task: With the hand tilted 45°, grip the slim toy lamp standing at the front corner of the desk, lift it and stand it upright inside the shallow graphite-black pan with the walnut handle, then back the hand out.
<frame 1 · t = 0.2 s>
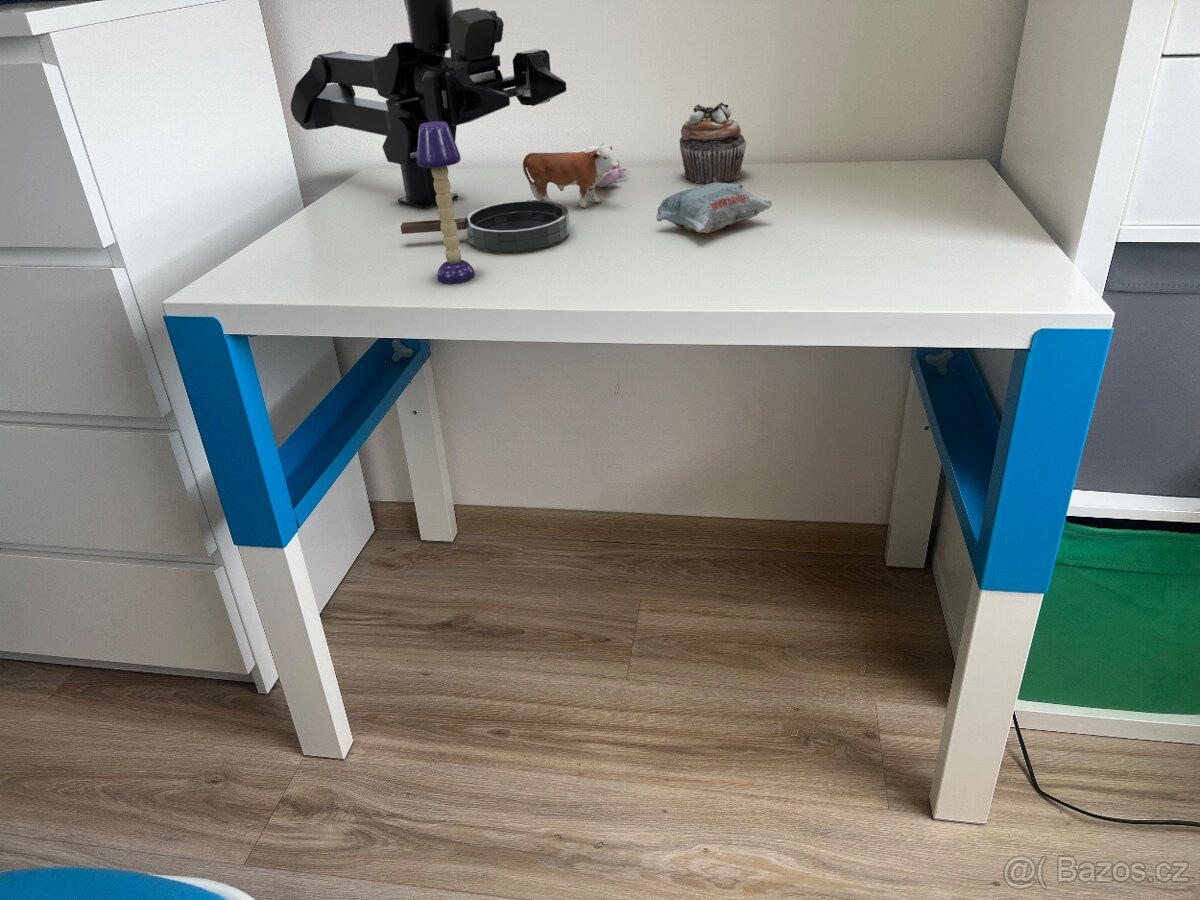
hand: (537, 93, 102), 17 cm above the table, tool horizontal, fingers open, 9 cm apart
pan: (518, 237, 110), on the table
rabbit figure: (603, 186, 128), on the table
packaged food: (713, 229, 109), on the table
pan handle: (433, 225, 109), point 2 cm above the table
cupcake: (712, 178, 129), on the table
bull figurine: (575, 206, 121), on the table
toy lamp: (457, 277, 100), on the table
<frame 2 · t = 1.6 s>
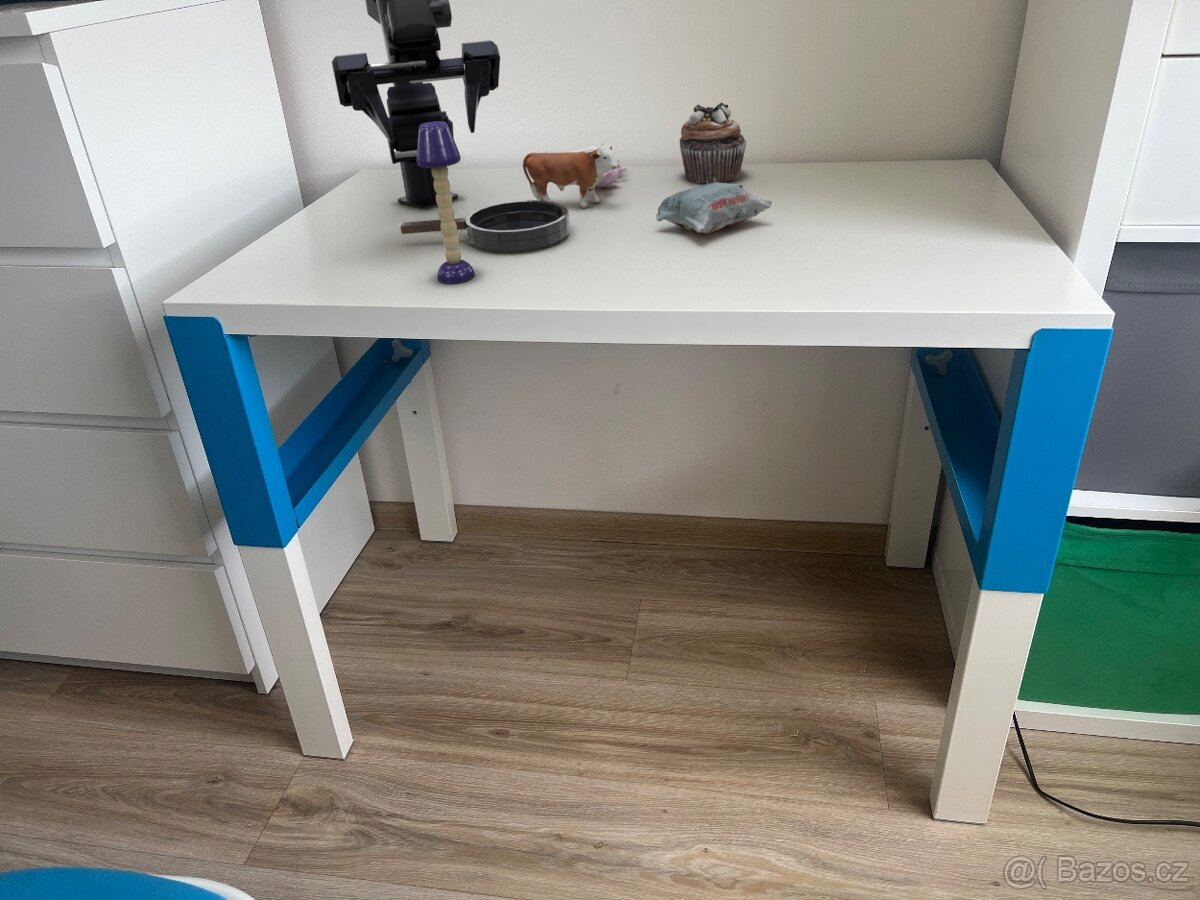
hand: (432, 135, 99), 14 cm above the table, tool tilted 45°, fingers open, 9 cm apart
nothing on the table moved.
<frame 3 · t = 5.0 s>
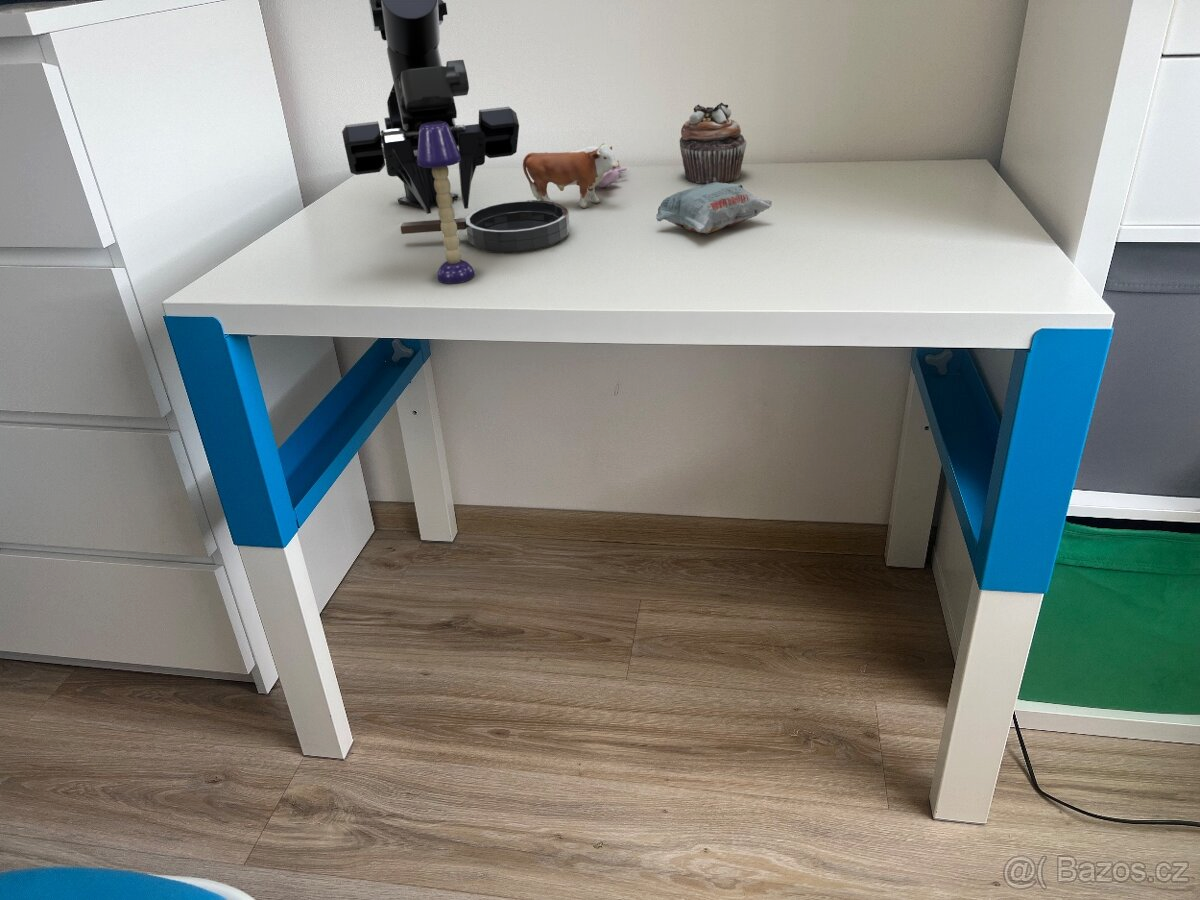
hand: (447, 209, 94), 8 cm above the table, tool tilted 45°, fingers closed on toy lamp, 4 cm apart
toy lamp: (457, 277, 100), on the table, touching gripper
everything else where it was.
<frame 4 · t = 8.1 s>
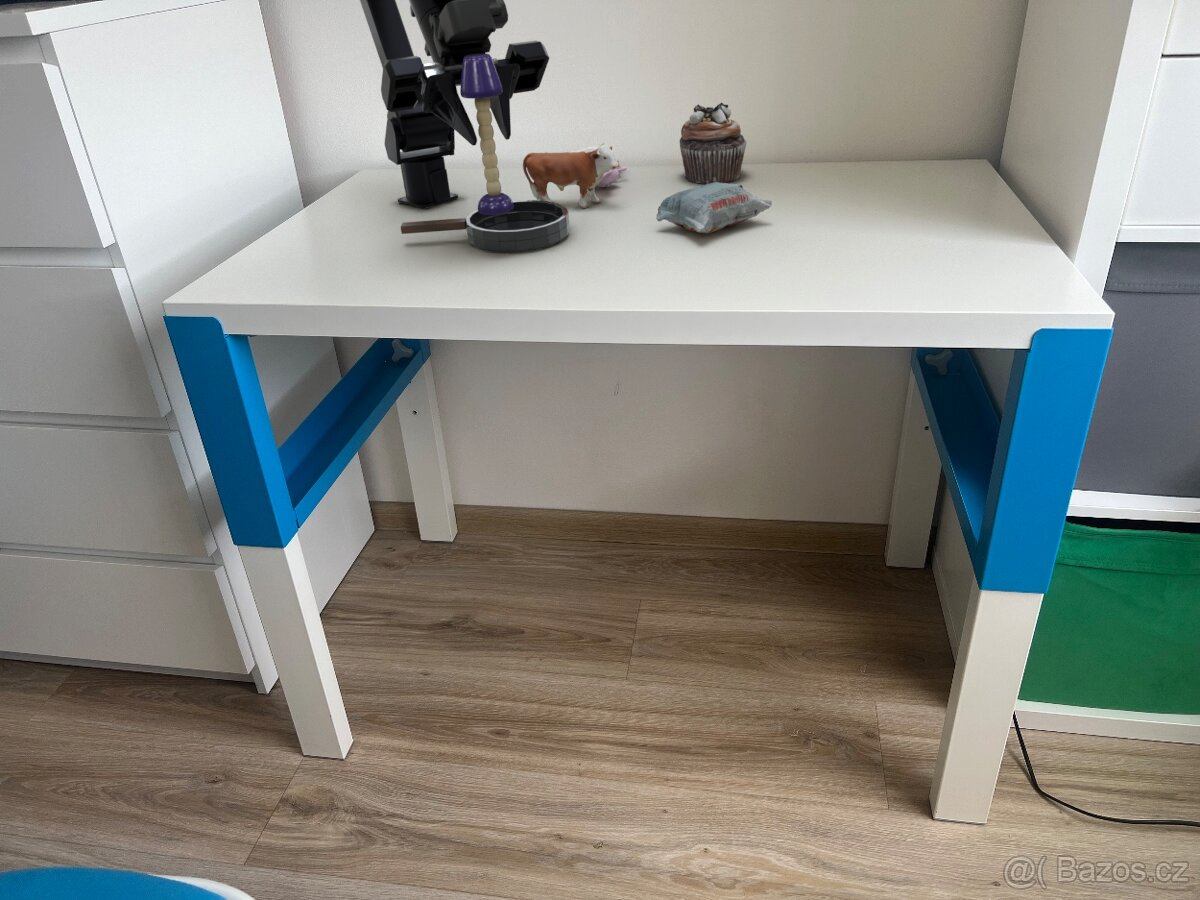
hand: (491, 140, 97), 13 cm above the table, tool tilted 45°, fingers closed on toy lamp, 4 cm apart
toy lamp: (495, 210, 103), point 5 cm above the table, touching gripper
everything else where it was.
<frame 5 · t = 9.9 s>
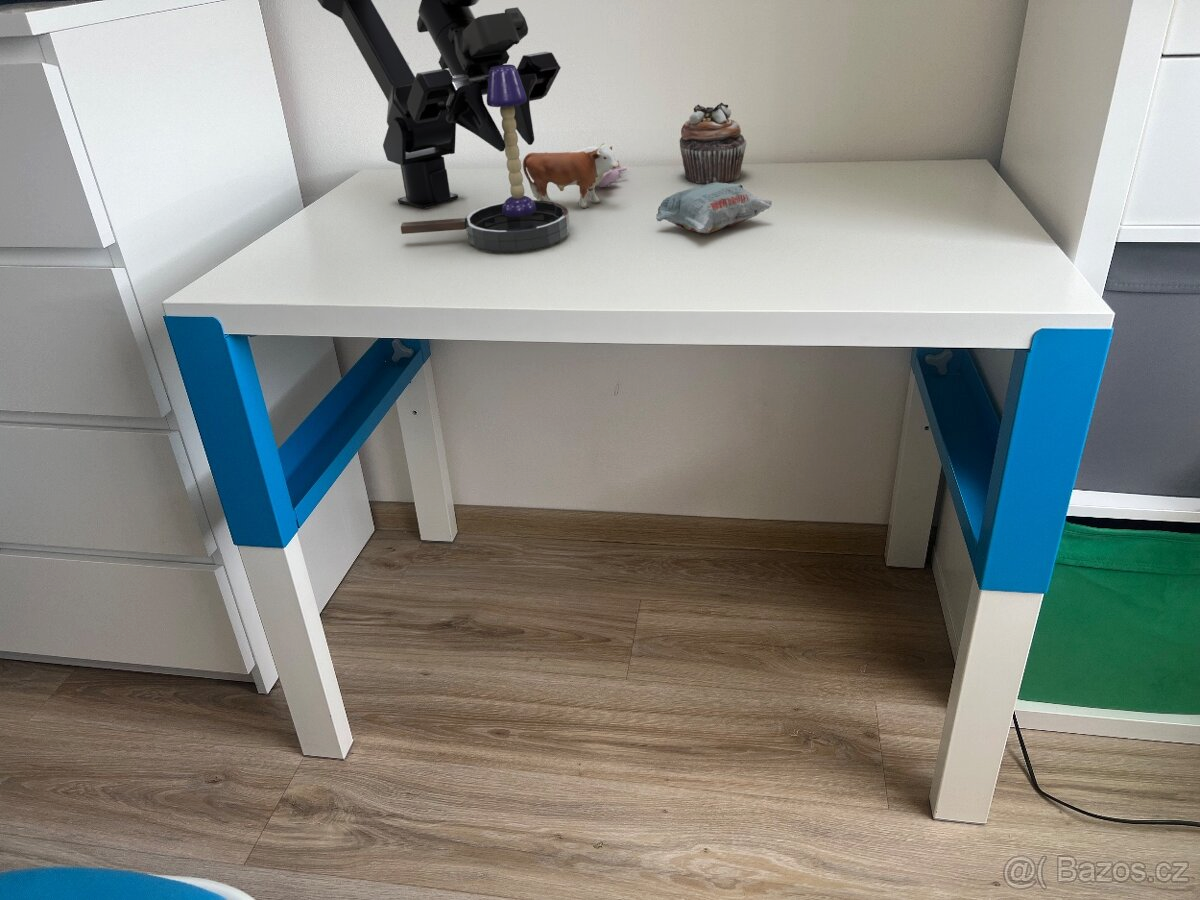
hand: (517, 146, 103), 11 cm above the table, tool tilted 45°, fingers closed on toy lamp, 4 cm apart
toy lamp: (518, 212, 108), point 3 cm above the table, touching gripper
everything else where it was.
when the fingers open (9 cm above the table, at t = 11.3 s): toy lamp stays where it is, resting on pan.
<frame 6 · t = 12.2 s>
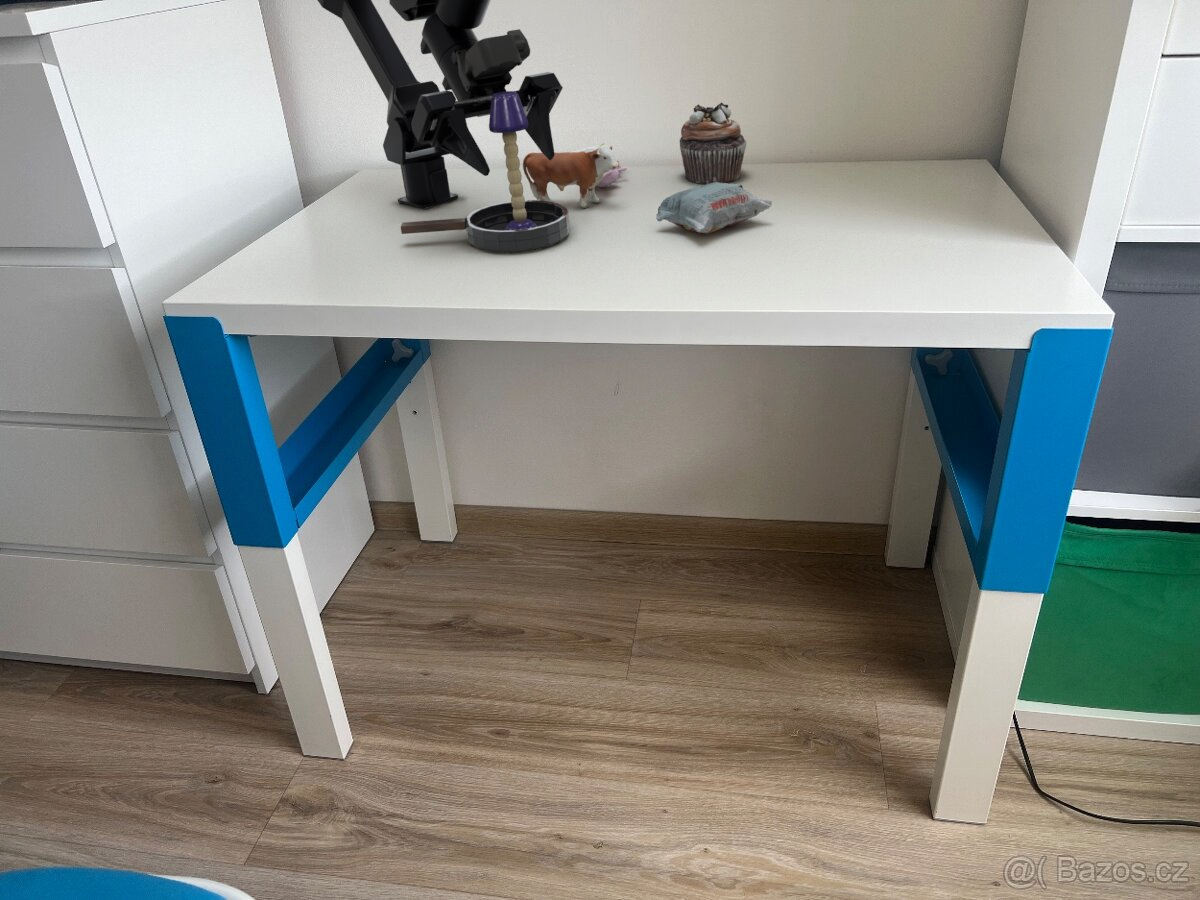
hand: (520, 165, 104), 9 cm above the table, tool tilted 45°, fingers open, 9 cm apart
toy lamp: (521, 235, 110), resting on pan
everything else where it was.
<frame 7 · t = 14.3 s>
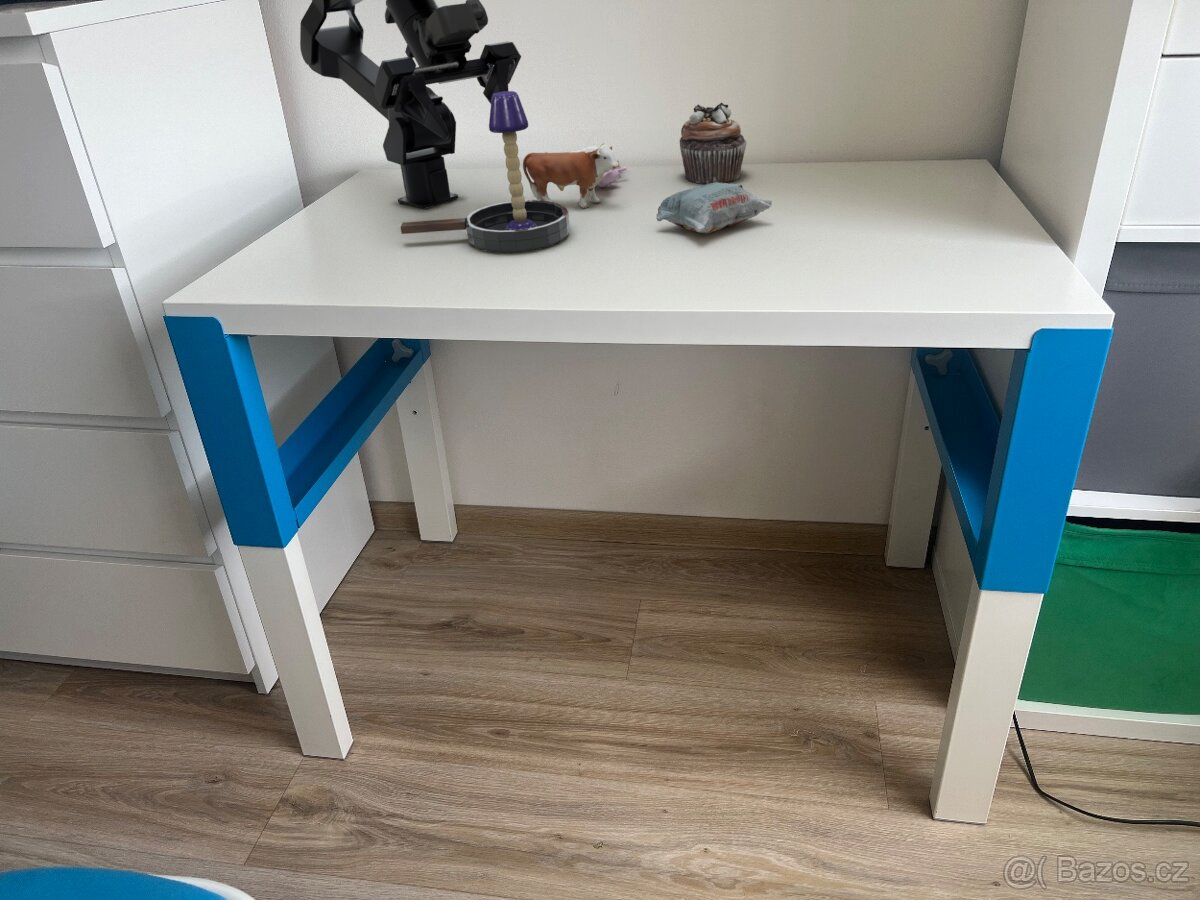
hand: (479, 130, 108), 12 cm above the table, tool tilted 45°, fingers open, 9 cm apart
nothing on the table moved.
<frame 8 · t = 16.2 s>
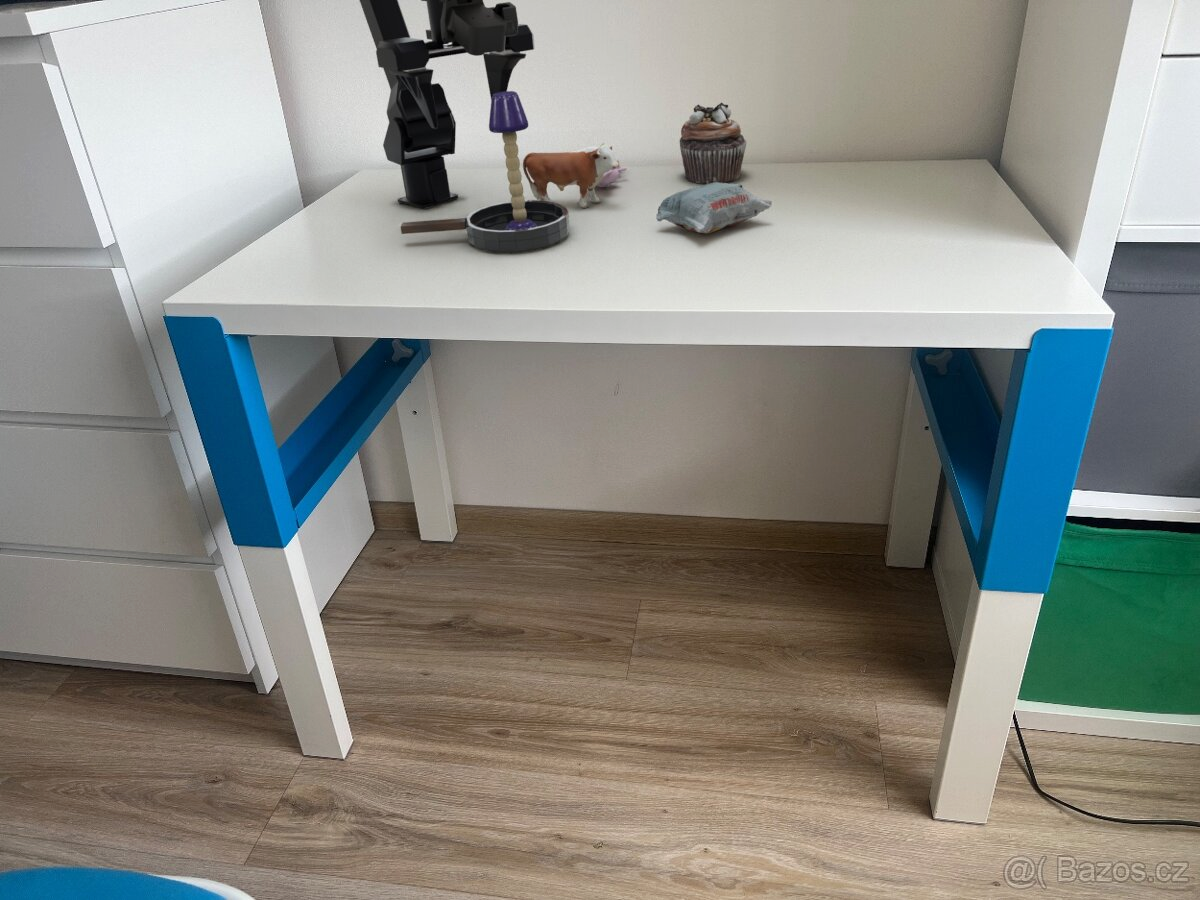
hand: (467, 121, 109), 13 cm above the table, tool pointing down, fingers open, 9 cm apart
nothing on the table moved.
at the end: toy lamp inside the target area in the pan (0.4 cm from its centre), point 0.3 cm above the pan's base; toy lamp tilted 0°; the gripper is holding nothing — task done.
